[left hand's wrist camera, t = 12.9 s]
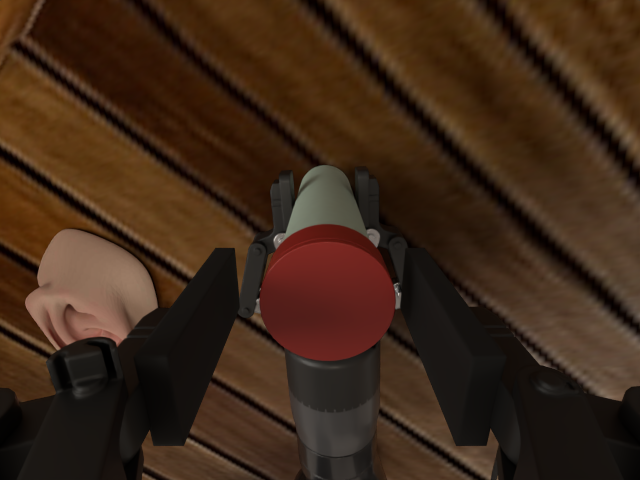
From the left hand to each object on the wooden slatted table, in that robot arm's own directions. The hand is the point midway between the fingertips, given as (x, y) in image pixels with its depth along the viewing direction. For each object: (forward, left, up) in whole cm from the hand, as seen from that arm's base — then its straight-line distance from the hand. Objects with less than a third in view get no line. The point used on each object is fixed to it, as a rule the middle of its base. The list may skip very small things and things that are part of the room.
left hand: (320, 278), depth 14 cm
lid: (0, 0, +2) cm, 2 cm away
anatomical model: (+10, +21, -17) cm, 29 cm away
